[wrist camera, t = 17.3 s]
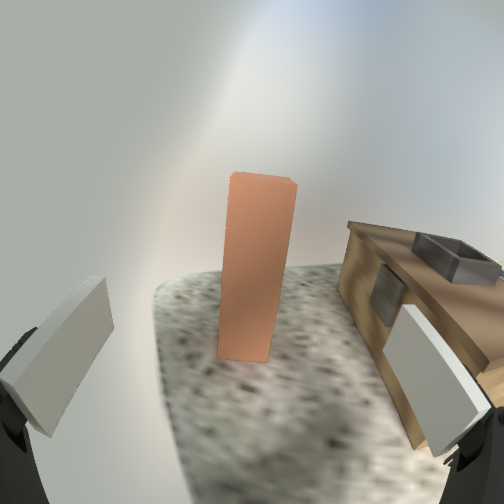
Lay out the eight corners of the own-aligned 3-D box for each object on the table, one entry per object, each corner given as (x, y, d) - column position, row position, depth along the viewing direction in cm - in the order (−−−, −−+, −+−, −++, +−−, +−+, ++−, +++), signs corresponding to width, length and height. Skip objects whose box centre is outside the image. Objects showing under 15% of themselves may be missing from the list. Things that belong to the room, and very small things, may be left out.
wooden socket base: (331, 286, 35) (349, 204, 31) (418, 291, 35) (440, 222, 31) (409, 456, 12) (507, 328, 8) (513, 408, 12) (573, 312, 8)
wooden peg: (221, 328, 24) (234, 171, 19) (264, 332, 25) (288, 177, 19) (217, 358, 21) (230, 177, 16) (266, 362, 21) (297, 184, 16)
